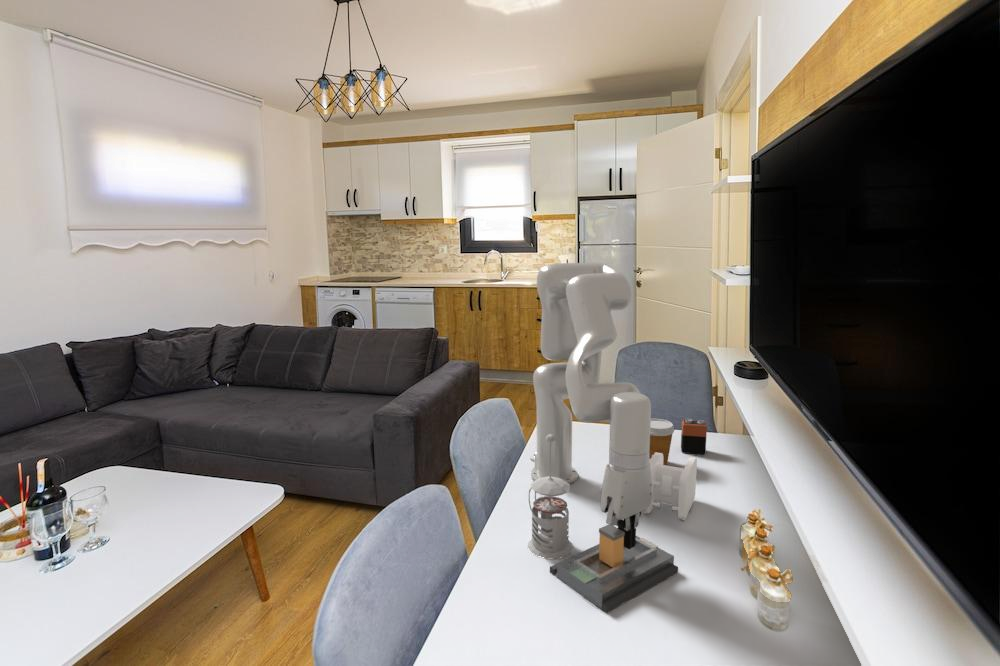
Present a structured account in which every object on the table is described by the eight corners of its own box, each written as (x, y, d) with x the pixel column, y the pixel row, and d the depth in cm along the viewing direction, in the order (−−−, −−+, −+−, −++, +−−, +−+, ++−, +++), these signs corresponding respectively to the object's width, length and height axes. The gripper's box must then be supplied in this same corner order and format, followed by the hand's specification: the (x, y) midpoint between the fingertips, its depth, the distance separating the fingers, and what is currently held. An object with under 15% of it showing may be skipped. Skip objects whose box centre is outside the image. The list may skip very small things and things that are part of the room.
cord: (549, 572, 113) (549, 566, 112) (619, 539, 124) (619, 534, 124) (553, 575, 112) (553, 569, 111) (623, 541, 123) (623, 536, 123)
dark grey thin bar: (601, 609, 101) (601, 603, 101) (672, 569, 113) (673, 564, 113) (606, 613, 101) (606, 606, 100) (677, 572, 112) (678, 567, 112)
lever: (598, 558, 111) (599, 528, 110) (609, 553, 113) (609, 523, 112) (612, 568, 108) (613, 537, 107) (623, 562, 110) (624, 532, 109)
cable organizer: (684, 527, 129) (686, 479, 127) (637, 516, 134) (639, 470, 132) (695, 499, 142) (698, 455, 140) (653, 491, 147) (654, 448, 145)
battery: (680, 448, 175) (682, 416, 174) (703, 449, 174) (705, 418, 172) (681, 453, 171) (683, 421, 169) (705, 455, 170) (707, 423, 168)
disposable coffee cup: (676, 461, 166) (678, 421, 163) (667, 472, 158) (669, 431, 155) (644, 454, 171) (646, 416, 168) (633, 465, 163) (635, 425, 161)
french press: (545, 564, 115) (545, 447, 111) (513, 538, 125) (512, 430, 121) (582, 549, 121) (584, 437, 116) (549, 526, 130) (549, 421, 126)
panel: (556, 577, 111) (556, 559, 110) (627, 543, 123) (628, 526, 122) (601, 610, 101) (601, 589, 101) (674, 569, 113) (674, 551, 112)
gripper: (639, 442, 117) (636, 525, 120) (587, 460, 108) (585, 549, 111) (669, 453, 111) (666, 540, 114) (617, 473, 102) (614, 567, 105)
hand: (626, 544), depth 113 cm, fingers closed
